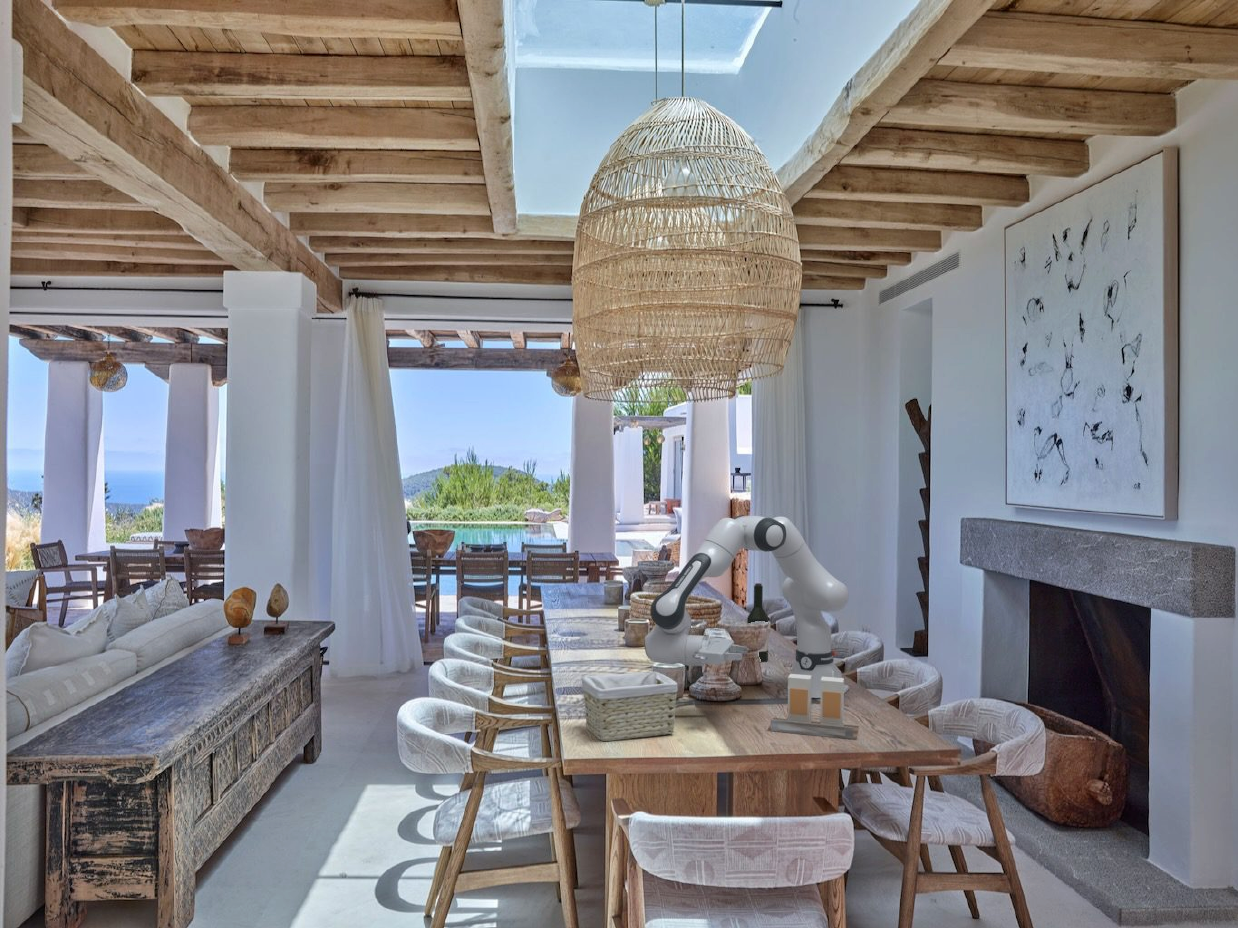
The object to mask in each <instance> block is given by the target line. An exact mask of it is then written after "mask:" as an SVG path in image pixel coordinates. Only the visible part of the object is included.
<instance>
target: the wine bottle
mask: <svg viewBox="0 0 1238 928" xmlns="http://www.w3.org/2000/svg"><path fill="white" fill-rule="evenodd" d="M763 589H764V587H763V584H762V583H755V584H754V586H753V608H752V609H751V611H750V612H749V614H748V616H747V617H746V618H747V622H746V623H751V622H755V621H765V622H768V623H769V616H768V614H767V613H766V611H765V610H764V607H763V591H764V590H763ZM759 657H760V659H761V662H760V663H767V662H769V638H768V639H767V641H766V644H765V647H764V649H761V650H760V651H759Z"/></svg>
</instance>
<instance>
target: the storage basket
mask: <svg viewBox="0 0 1238 928" xmlns="http://www.w3.org/2000/svg"><path fill="white" fill-rule="evenodd" d="M581 683H582V684H581V690H582V691H583V697H584V700H583V701H584V706H585V707H584V713H585V720H586V721H585V722H586V729H587V730H588V731H589V732H591V734H592V735H593V736H595V737H596V738H597V740H600V741H602V742H613V741H619V740H620V741H621V740H631V739H637V738H647V737H648V738H649V737H653V736H656V737H657V736H661V735H662V736H664V735H671V734H674V733H675V720H676V717H675V716H676V714H675V713H676V704H677V696H678V694H677V692H678V683H677V681H675V680H674V679H672V678H671V677H668V676H667V675H665V674H663V673H661V672H659V671H657V670H656V671H647V672H646V671H645V672H643V671H642V672H630V673H619V674H602V675H585V676H583V677H582V678H581Z"/></svg>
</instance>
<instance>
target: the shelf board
mask: <svg viewBox="0 0 1238 928" xmlns="http://www.w3.org/2000/svg"><path fill="white" fill-rule="evenodd" d="M859 726H860V725H851V724H844V726H838V725H828V724H820V721H813V720H811V723H807V722H797V721H788V718H779V717H778V718H777V717H773V718H771V719H770V723H769V725H768V728H767V730H766V731H767V732H773V733H781V734H782V733H784V734H792V735H794V734H795V735H801V736H802V735H803V736H810V737H811V736H813V737H820V738H821V737H822V738H830V739H831V738H833V739H842V740H852V741H857V740H858V735H859V729H860V728H859Z"/></svg>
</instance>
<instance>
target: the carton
mask: <svg viewBox="0 0 1238 928" xmlns="http://www.w3.org/2000/svg"><path fill="white" fill-rule="evenodd" d="M844 685H845V678H843V677H842V678H835V677H822V678H821V698H820V703H819V704H820V705H819V706H820V714H819V715H820V716H819V717H820V718H819V720H820V721H819V722H820V724H828V725H838V726H844V725H845V724H844V723H845V722H844V720H845V719H844V717H845V714H844V713H845V709H844V708H845V707H844V706H845V705H844V704H845V702H844V701H845V694H844Z"/></svg>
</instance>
